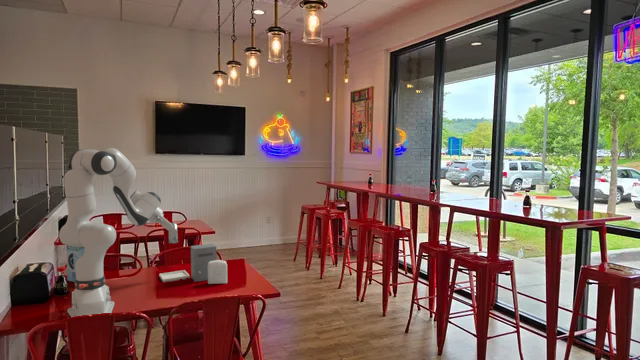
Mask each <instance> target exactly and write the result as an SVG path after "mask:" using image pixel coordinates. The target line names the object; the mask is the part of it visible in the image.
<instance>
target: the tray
mask: <svg viewBox="0 0 640 360" xmlns="http://www.w3.org/2000/svg"><path fill="white" fill-rule="evenodd" d="M158 276H159V279H160V280H161V281H162V283H167V282H175V281H180V279H182V280H187V279H186V278H188V279H190V277H191V276H190V274H189V273H188V272H187V271H186V270H185V269H183V270H175V271H170V272H163V273H159V275H158Z"/></svg>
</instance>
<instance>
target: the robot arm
mask: <svg viewBox="0 0 640 360" xmlns="http://www.w3.org/2000/svg"><path fill="white" fill-rule="evenodd" d="M95 175H96V176H97V175H98V176H105V175H109V177H110V178H111V180H112V185H113V186H112V191H113V193H114V195H115V197H116V199H117V201H118V202H119V203H120V206H121V207H122V210H124V212H125V214H126V217H127V220H128V221H129V222H130V223H131V224H133V225H135V226H137V227H139V226H140V227H141V226H144V225H146V224H147V222H149V223H150V224H153V223H154V224H159V225H161V227H163V228H165V229H166V230H167V231H168V232H169V230H171V231H172V232H173V233H175V232H176V230H175V229H174V228H173V225H172V224H171V223H172V222H170V221H169V220H168V219H167V218H165V217H164V215H165V214H164V210H163V209H161V207H160V205H161V201H162V199H161V197H160V196H159V195H158V194H157V193H155V192H154V191H148V192H144V193H143V192H141V191H138V190H136V191H135V190H134V192H133V193H132V194H131V193H130V191H131V189H132V186H133V184H134V183H135V180H136V177H137V170H136V168H135V166H134V165H133V163H131V161H130V160H129V159H128V158H127V156H125V154H123V153H122V152H121V151H120V150H119V149H117V148H115V147H109V148H105V149H104V150H97V149H77V150H74V151H73V152H71V154H70V155H69V157H68V171H67V172H65V174H64V178H63V180H64V183H63V184H64V185H63V186H64V193H65V199H66V204H67V213H68V214H67V218H66V219H67V220H66V222H65V224H64V225H63V226H62V227H61V228H60V230H59V233H58V236H59V240H60V242H61V243H62V244H63V245H65V246H66V245H69V246H72V247H84V248H85V251H84V255H83V256H82V257H80V258H79V259H78V260H77V261H76V263H75V269H76V279H75V282H74V288H75V289H74V290H73V291H71V307H69V308H68V309H67V310H66V311H67V313H68V315H69V316H70V317H71V318H72V317H74V316H82V315H91V314H101V313H111V314H112V312H113V309H114V306H115V301H112V296H111V295H110V294H111V292H110V291H111V290H110V287H109V286H108V285H106V277H105V274H104V258H105V256H106V253H107V251H108V249H109V248H110V247H111V246H113V245H114V243H115V241H116V239H117V231H116V228H115V227H114V226H112V225H111V224H110V225H109V224H106V223H102V222H101V223H97V222H91V221H90V216H91V215H93V213H95V211H96V210H97V207H98V205H97V199H96V194H95V188H94V185H93V178H94V176H95ZM130 194H131V196H130Z"/></svg>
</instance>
